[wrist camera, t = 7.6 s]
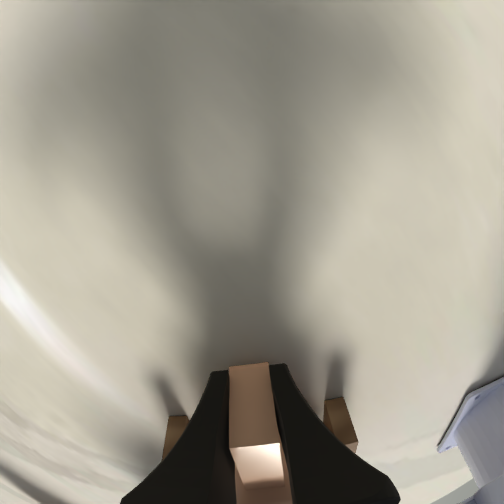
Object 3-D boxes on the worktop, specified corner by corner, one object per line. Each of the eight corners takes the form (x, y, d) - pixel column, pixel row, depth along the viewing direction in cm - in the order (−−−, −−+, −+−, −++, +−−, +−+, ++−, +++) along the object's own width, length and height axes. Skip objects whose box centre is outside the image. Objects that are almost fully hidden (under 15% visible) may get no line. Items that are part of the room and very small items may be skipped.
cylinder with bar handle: (314, 457, 17) (329, 527, 12) (224, 467, 17) (224, 538, 12) (317, 341, 13) (351, 447, 8) (179, 358, 13) (161, 466, 8)
